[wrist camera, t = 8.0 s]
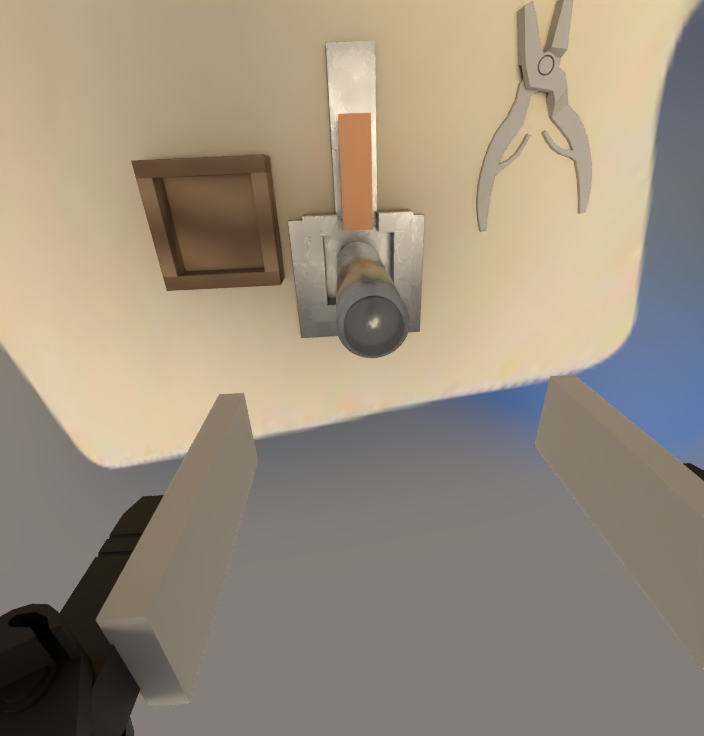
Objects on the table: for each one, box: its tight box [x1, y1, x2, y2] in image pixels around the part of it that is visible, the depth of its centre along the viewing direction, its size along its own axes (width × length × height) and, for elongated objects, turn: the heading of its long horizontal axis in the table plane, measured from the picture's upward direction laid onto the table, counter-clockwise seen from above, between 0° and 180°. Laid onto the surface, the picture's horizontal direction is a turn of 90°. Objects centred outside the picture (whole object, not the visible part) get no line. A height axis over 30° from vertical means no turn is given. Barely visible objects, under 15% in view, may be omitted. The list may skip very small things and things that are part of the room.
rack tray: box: [132, 155, 285, 291], centre depth 32 cm, size 10×10×3 cm
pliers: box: [477, 0, 592, 232], centre depth 30 cm, size 10×2×15 cm
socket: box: [288, 40, 425, 338], centre depth 31 cm, size 23×12×3 cm, turn 3°
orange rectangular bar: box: [338, 112, 373, 231], centre depth 30 cm, size 8×2×2 cm, turn 2°
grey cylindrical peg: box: [336, 242, 410, 358], centre depth 27 cm, size 4×4×17 cm
